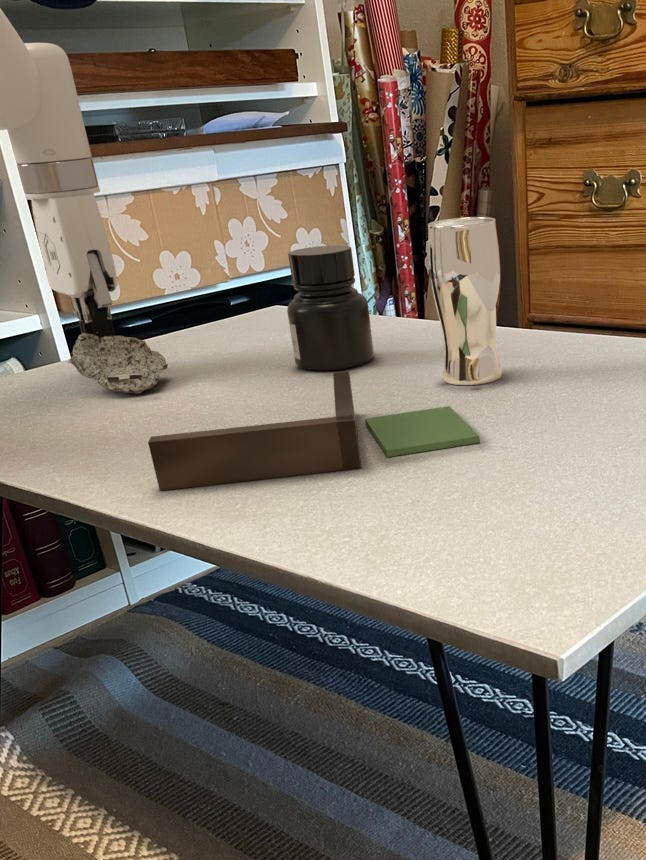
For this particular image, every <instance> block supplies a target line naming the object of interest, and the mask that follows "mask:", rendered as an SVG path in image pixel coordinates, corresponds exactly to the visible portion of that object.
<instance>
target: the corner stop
mask: <svg viewBox="0 0 646 860" xmlns="http://www.w3.org/2000/svg"><path fill="white" fill-rule="evenodd" d="M350 373H351V372H350V371H349V370H348V371H340V372H339V371H338V372H333V373H332V376H333V377H332V378H333V391H334V392H333V394H334V397H333V398H334V414H335V416H330V417H329V416H328V417H319V418H313V419H312V418H311V419H301V420H294V421H293V420H291V421H283V422H273V423H264V424H254V425H245V426H236V427H226V428H217V429H209V430H200V431H198V430H197V431H190V432H180V433H171V434H165V435H164V434H162V435H153V436H150V438H149V439H148V441H147V444H148V448H149V452H150V457H151V461H152V465H153V469H154V474H155V477H156V481H157V485H158V489H159V492H160V491H169V490H180V489H187V488H196V487H197V488H198V487H205V486H215V485H222V484H223V485H224V484H232V483H241V482H249V481H250V482H251V481H258V480H267V479H268V480H269V479H276V478H284V477H295V476H303V475H312V474H321V473H329V472H337V471H346V470H347V471H348V470H356V469H362V462H361V454H360V446H359V438H358V428H357V420H356V413H355V403H354V399H353V398H354V397H353V396H354V395H353V390H352V389H353V388H352V382H351V375H350Z"/></svg>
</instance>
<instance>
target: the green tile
mask: <svg viewBox="0 0 646 860" xmlns="http://www.w3.org/2000/svg"><path fill="white" fill-rule="evenodd" d="M364 424H365V426H366V428H367V429H368V430H369V432H370V433H371V435H372V437H373V438H374V440H375V441H376V442H377V444H378V445H379V447H380V448H381V450H382V452H383V453H384V454H385V456H386V457H387V458H391V457H398V456H404V455H409V454H416V453H417V454H418V453H423V452H429V451H436V450H442V449H449V448H454V447H461V446H467V445H473V444H480V443H481V440H480V439H481V438H480V435H479V434H478V433H477V432H476V431H475V430H474V429H473V428H472V427H471V426H470V424H468V423H467V422H466V421H465V420H464V419H463V418H462V417H461V416H460V415H459V414H458V413H457V412H456V411H455V410H454V409H453V408H452V407H451V406H450V405H448V406H447V405H446V406H440V407H434V408H426V409H420V410H414V411H408V412H407V411H406V412H400V413H395V414H394V413H393V414H387V415H380V416H379V415H378V416H373V417H366V418H364Z"/></svg>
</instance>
